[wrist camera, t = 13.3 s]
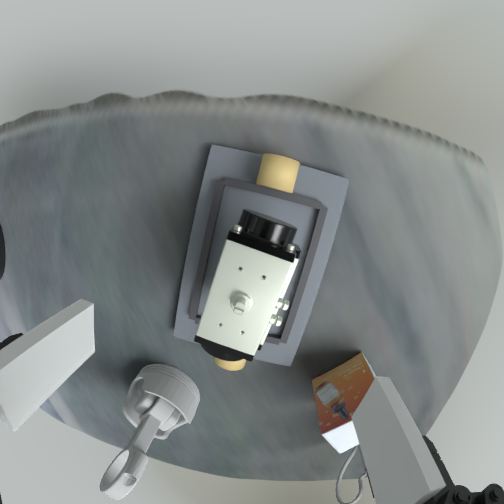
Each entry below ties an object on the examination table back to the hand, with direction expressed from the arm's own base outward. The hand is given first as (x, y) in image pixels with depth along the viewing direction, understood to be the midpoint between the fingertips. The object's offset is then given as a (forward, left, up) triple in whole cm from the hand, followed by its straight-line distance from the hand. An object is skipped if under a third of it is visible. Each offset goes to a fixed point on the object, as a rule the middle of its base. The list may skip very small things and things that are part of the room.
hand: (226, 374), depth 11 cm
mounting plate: (0, 0, -21) cm, 21 cm away
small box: (+16, -13, -21) cm, 29 cm away
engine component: (-8, -23, -21) cm, 32 cm away
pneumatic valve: (0, 0, -19) cm, 19 cm away
